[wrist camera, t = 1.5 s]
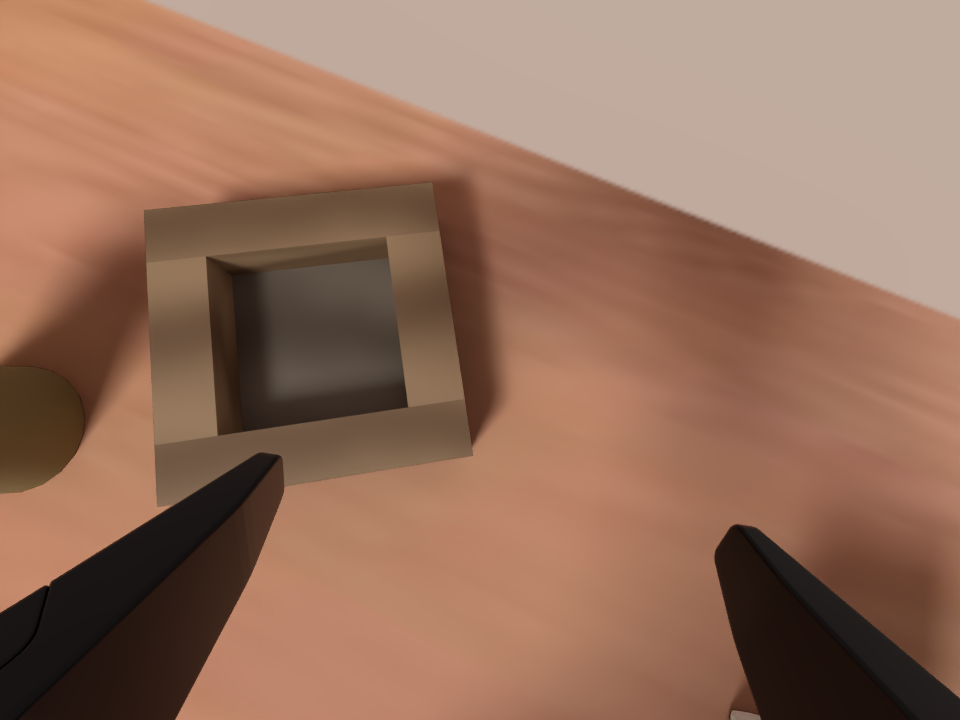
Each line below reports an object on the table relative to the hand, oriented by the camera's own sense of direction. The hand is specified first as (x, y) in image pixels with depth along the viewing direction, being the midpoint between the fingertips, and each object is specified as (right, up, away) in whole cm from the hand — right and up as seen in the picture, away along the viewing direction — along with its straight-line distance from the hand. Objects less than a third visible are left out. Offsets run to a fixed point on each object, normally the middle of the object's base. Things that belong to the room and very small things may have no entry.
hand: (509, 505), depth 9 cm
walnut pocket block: (-9, +4, +14) cm, 17 cm away
